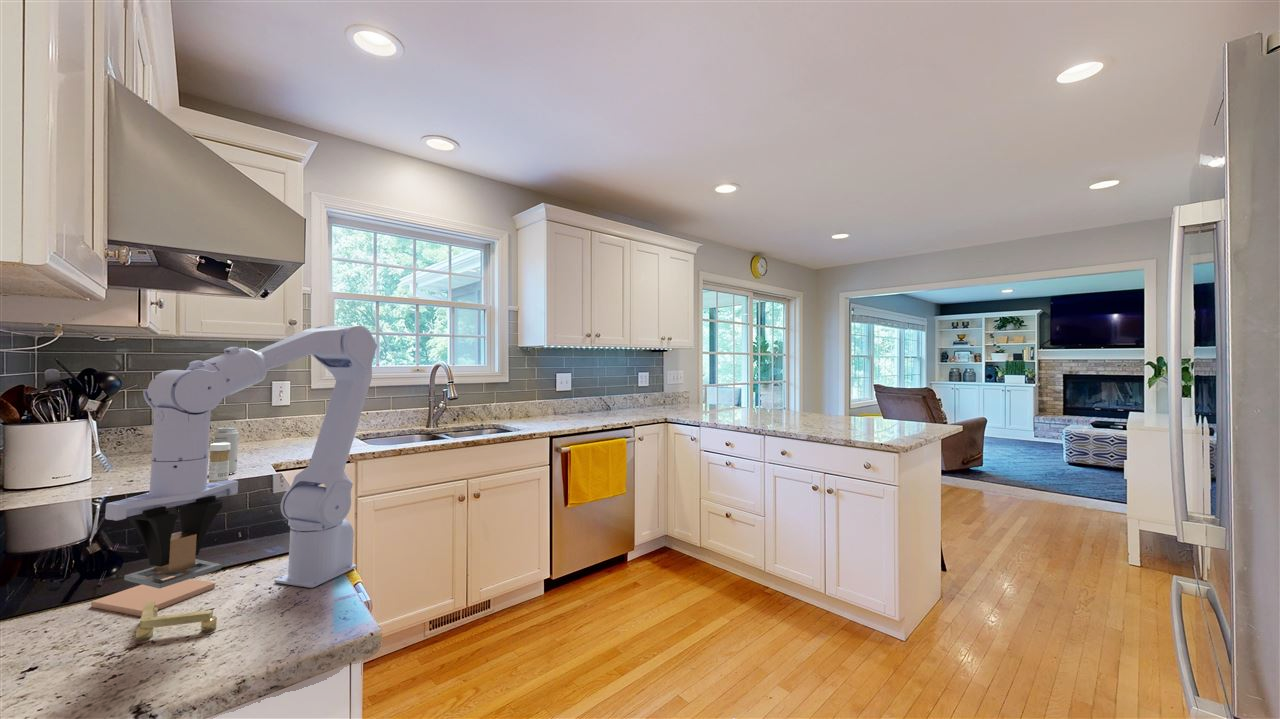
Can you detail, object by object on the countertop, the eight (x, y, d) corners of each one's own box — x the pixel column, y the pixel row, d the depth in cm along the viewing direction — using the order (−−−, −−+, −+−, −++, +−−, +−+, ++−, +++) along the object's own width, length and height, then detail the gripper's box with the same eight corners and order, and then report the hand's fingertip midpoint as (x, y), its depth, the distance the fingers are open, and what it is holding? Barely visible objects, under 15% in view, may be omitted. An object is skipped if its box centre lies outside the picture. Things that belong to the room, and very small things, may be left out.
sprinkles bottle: (226, 488, 146) (229, 441, 147) (229, 490, 143) (232, 443, 143) (206, 490, 143) (208, 442, 143) (208, 493, 140) (211, 444, 140)
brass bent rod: (154, 615, 72) (155, 598, 72) (219, 627, 69) (220, 610, 69) (105, 634, 67) (107, 616, 67) (174, 648, 64) (175, 629, 64)
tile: (168, 580, 84) (168, 575, 84) (214, 587, 81) (215, 582, 82) (91, 606, 74) (91, 601, 74) (141, 616, 72) (141, 610, 72)
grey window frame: (187, 561, 72) (188, 525, 72) (220, 568, 70) (222, 531, 70) (124, 580, 65) (126, 540, 65) (159, 588, 63) (162, 547, 63)
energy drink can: (240, 473, 166) (243, 428, 166) (219, 476, 160) (221, 429, 161) (229, 471, 168) (232, 426, 168) (208, 474, 163) (211, 428, 163)
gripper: (214, 449, 76) (209, 539, 75) (89, 465, 62) (82, 576, 61) (251, 452, 74) (246, 544, 74) (132, 469, 60) (125, 584, 60)
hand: (174, 559), depth 68 cm, fingers closed on grey window frame, 3 cm apart
